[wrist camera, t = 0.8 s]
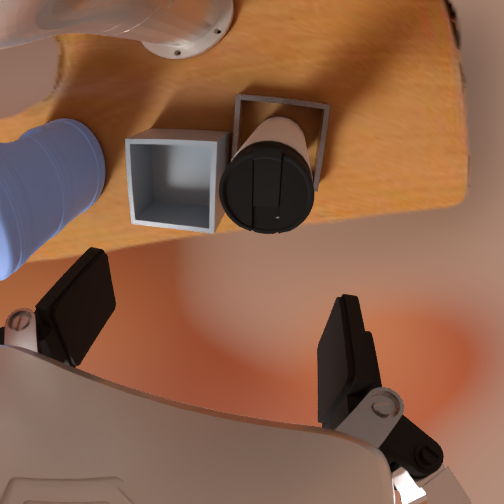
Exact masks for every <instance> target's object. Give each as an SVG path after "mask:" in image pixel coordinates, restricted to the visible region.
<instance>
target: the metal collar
mask: <svg viewBox="0 0 504 504" xmlns="http://www.w3.org/2000/svg"><path fill="white" fill-rule="evenodd" d="M244 100H251V101H263V102H273V103H282V104H291V105H298V106H306V107H312V108H319V109H322V115H321V123H320V131H319V138H318V145H317V152H316V159H315V165H314V172H313V186H314V191H317V192H318V186H319V180H320V174H321V167H322V161H323V155H324V148H325V141H326V134H327V127H328V120H329V113H330V105H329V104H326V103H319V102H313V101H306V100H299V99H291V98H283V97H273V96H263V95H251V94H236V98H235V113H234V128H233V143H232V159H233V157H234V156H235V154H236V153H237V152H238V151H239V149H240V148H241V133H242V119H243V106H244Z"/></svg>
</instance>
